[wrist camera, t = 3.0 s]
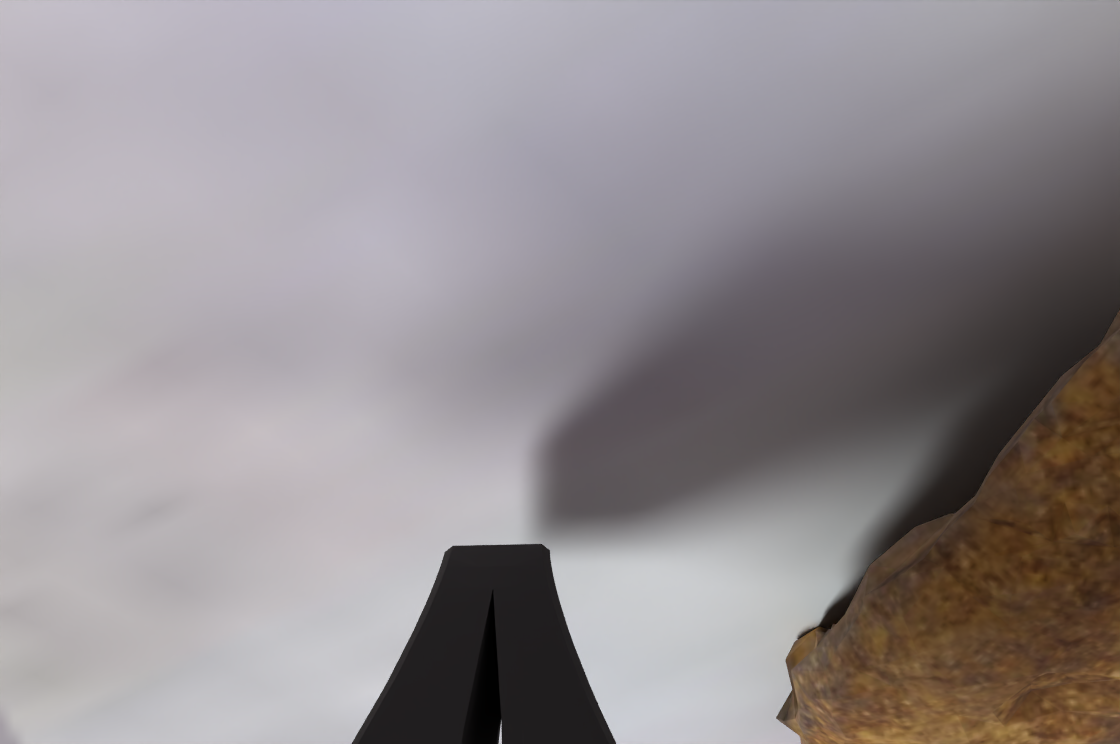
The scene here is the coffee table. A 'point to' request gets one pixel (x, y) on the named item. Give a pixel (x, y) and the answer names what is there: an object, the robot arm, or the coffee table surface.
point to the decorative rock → (991, 599)
